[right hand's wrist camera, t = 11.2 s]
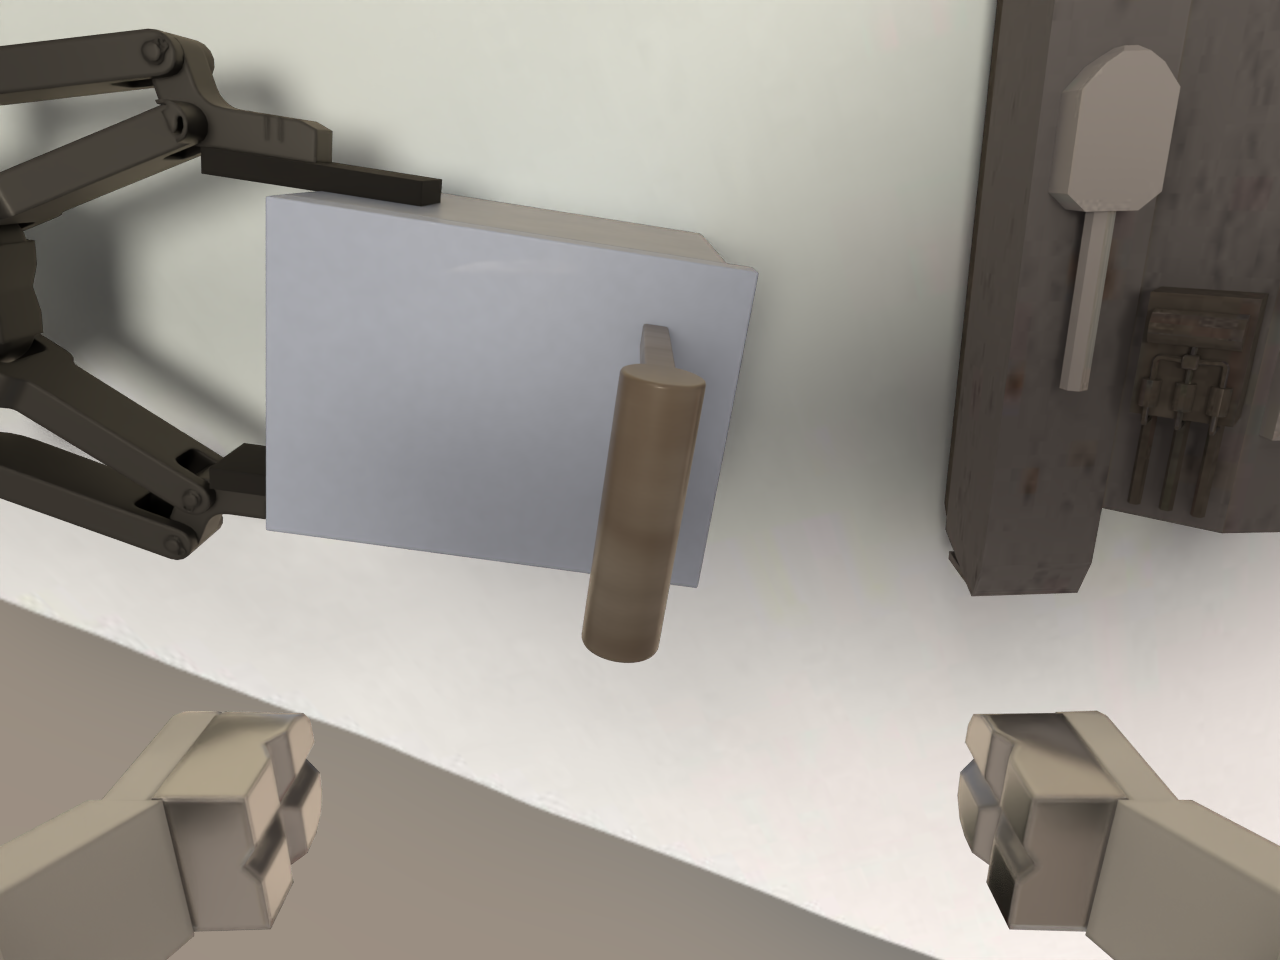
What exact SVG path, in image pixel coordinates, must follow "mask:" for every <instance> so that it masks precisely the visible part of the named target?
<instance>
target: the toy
mask: <svg viewBox="0 0 1280 960" xmlns="http://www.w3.org/2000/svg"><path fill="white" fill-rule="evenodd" d="M1102 508H1106V509H1110V510H1115V511H1120V512H1124V513H1129V514H1134V515H1139V516H1143V517H1148V518H1153V519H1158V520H1162V521H1167V522H1172V523H1176V524H1181V525H1186V526H1191V527H1195V528H1200V529H1205V530H1210V531H1214V532H1219V533H1252V532H1280V0H998V2H997V11H996V21H995V30H994V40H993V49H992V59H991V68H990V78H989V87H988V97H987V106H986V116H985V125H984V135H983V144H982V154H981V163H980V173H979V182H978V192H977V201H976V211H975V220H974V230H973V239H972V249H971V258H970V267H969V277H968V286H967V296H966V305H965V315H964V324H963V334H962V343H961V353H960V362H959V372H958V381H957V391H956V400H955V410H954V419H953V429H952V438H951V448H950V457H949V467H948V476H947V486H946V495H945V509H946V515H947V521H946V532H947V534H948V537H949V540H950V542H951V545H952V547H953V550H954V551H949V560H950V561H951V563H952V564H953V566H954V567H955V568H956V570H957V571H958V573H959V574H960V575H961V577H962V578H963V580H964V581H965V582H966V584H967V586H968V589H969V591H970V594H971V596H992V595H1022V594H1051V593H1077V592H1078V590H1079V588H1080V586H1081V584H1082V582H1083V580H1084V577H1085V575H1086V573H1087V571H1088V569H1089V567H1090V565H1091V563H1092V558H1093V552H1094V547H1095V542H1096V536H1097V531H1098V525H1099V520H1100V515H1101V509H1102Z"/></svg>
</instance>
